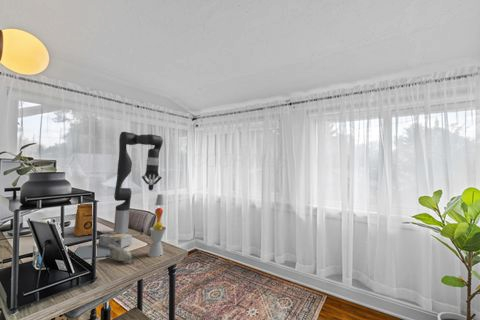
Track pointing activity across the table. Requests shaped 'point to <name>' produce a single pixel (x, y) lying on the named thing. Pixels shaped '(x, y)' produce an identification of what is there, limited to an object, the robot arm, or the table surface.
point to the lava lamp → (157, 230)
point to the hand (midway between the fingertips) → (150, 190)
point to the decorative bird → (119, 254)
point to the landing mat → (86, 251)
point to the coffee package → (83, 220)
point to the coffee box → (115, 239)
